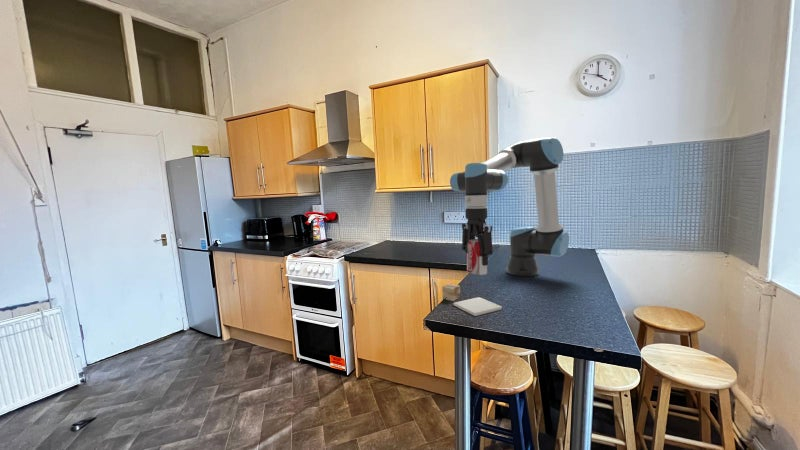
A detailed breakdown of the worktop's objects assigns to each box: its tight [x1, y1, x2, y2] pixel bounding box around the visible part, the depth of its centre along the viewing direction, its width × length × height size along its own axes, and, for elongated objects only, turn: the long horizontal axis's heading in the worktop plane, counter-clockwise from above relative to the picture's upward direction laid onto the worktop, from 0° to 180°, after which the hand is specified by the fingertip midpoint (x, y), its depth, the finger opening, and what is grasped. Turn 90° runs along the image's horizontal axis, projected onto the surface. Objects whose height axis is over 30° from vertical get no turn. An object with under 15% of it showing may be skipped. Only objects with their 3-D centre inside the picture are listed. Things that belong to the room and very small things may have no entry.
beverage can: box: [467, 238, 485, 275], centre depth 112 cm, size 6×6×12 cm
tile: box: [453, 296, 503, 317], centre depth 114 cm, size 12×12×1 cm
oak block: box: [441, 283, 461, 302], centre depth 125 cm, size 5×5×5 cm
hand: (476, 272), depth 113 cm, fingers closed on beverage can, 6 cm apart
